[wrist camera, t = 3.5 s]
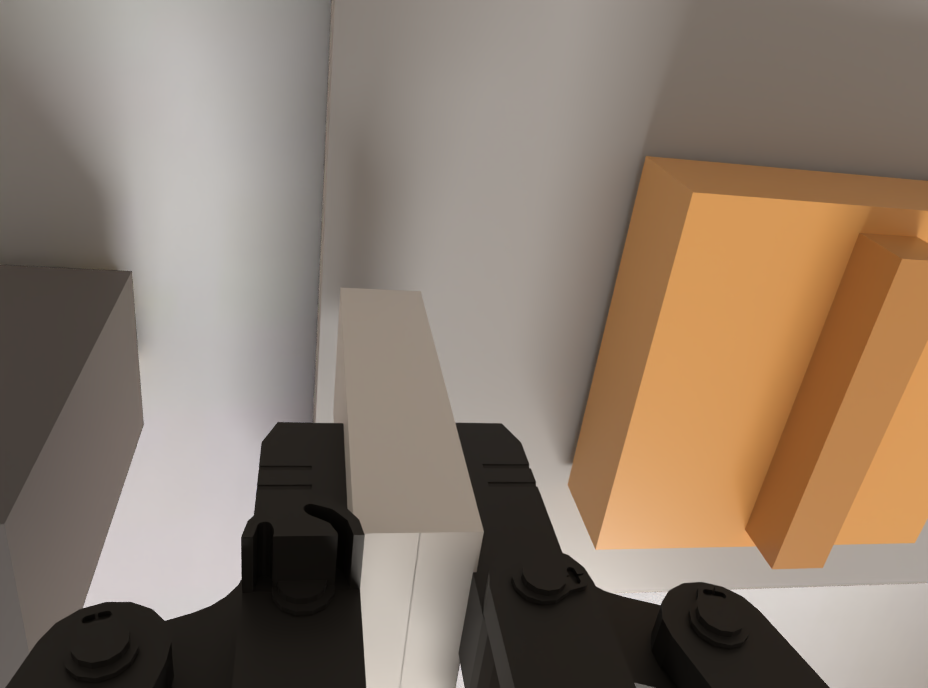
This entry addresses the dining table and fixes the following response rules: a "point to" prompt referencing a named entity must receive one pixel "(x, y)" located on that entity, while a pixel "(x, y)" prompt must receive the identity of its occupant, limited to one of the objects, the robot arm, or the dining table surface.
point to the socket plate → (586, 195)
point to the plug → (60, 439)
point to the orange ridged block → (762, 366)
